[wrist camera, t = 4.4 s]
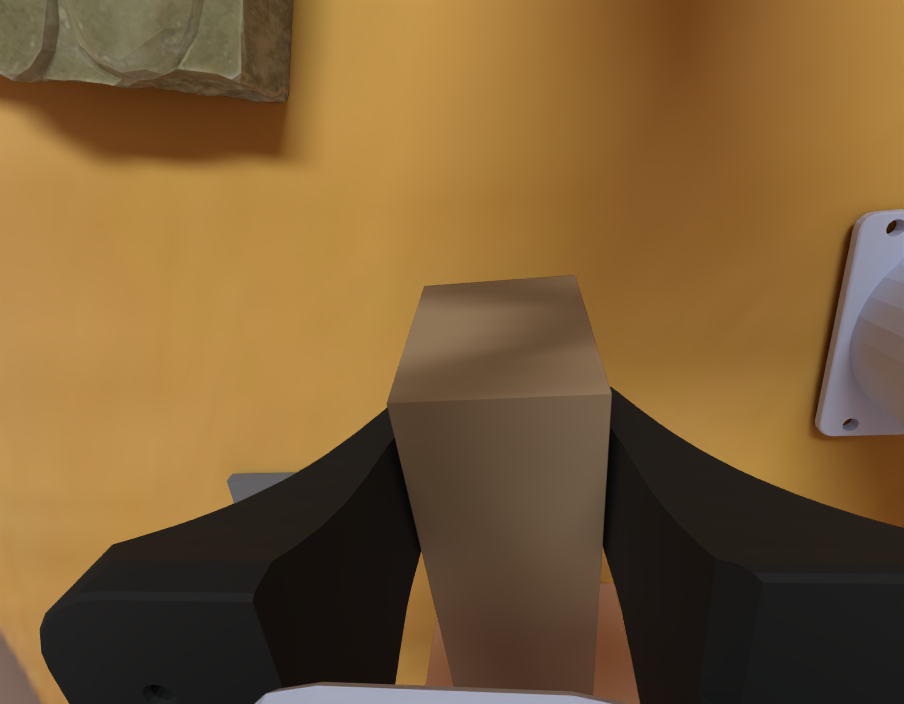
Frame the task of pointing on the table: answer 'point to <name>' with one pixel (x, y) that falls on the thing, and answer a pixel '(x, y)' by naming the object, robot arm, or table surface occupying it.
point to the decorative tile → (152, 44)
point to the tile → (610, 659)
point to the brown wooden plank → (507, 476)
